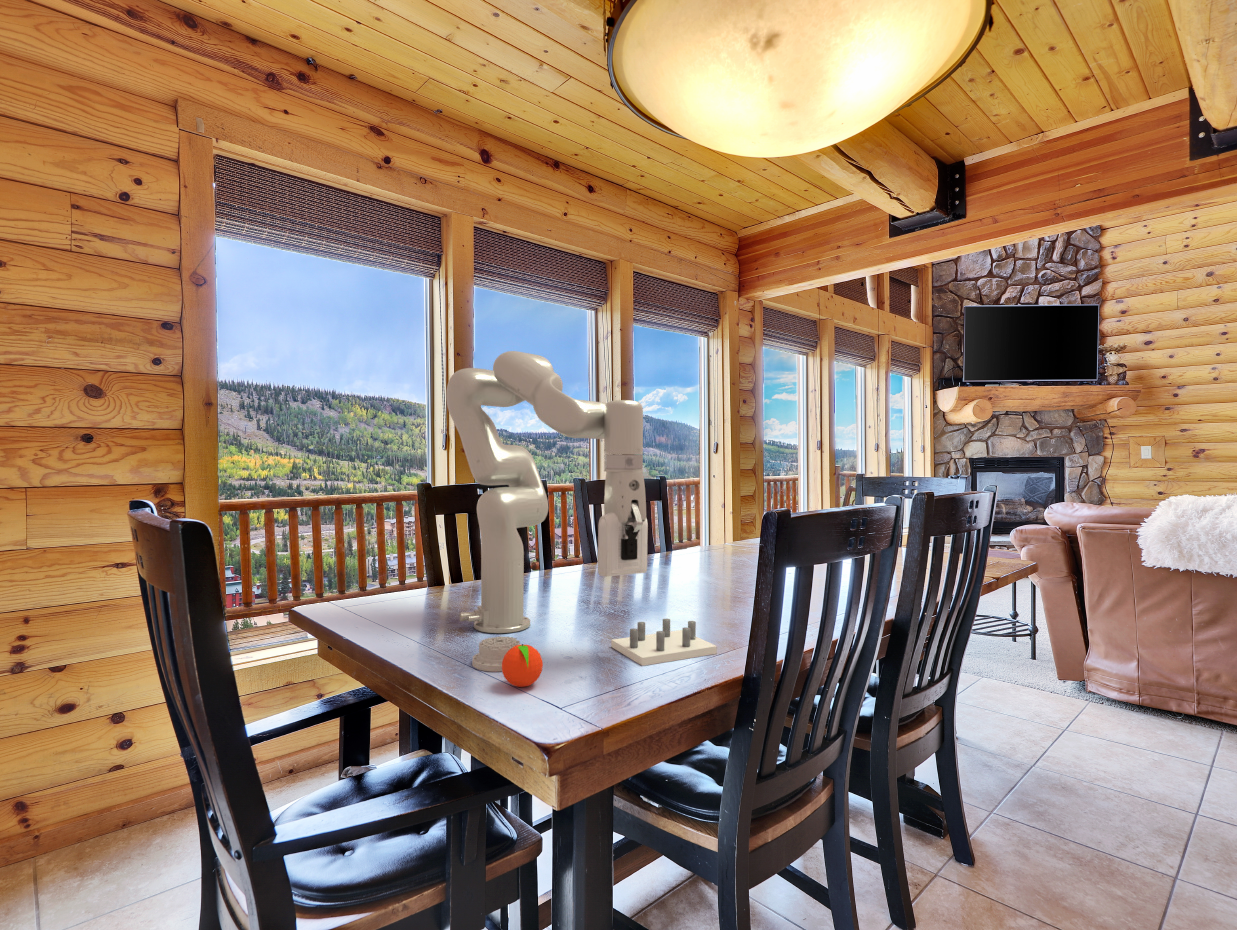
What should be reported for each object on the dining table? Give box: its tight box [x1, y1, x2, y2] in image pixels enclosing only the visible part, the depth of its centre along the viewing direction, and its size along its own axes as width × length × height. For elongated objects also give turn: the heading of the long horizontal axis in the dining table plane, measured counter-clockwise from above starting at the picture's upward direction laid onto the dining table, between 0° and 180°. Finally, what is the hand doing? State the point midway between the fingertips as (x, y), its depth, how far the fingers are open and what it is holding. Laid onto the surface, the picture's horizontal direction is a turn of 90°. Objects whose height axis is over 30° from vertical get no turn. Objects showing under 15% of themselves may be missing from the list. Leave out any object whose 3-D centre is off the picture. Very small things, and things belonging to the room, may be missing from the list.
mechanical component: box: [471, 635, 521, 673], centre depth 122 cm, size 10×4×10 cm
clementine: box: [501, 643, 544, 688], centre depth 110 cm, size 8×7×7 cm
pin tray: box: [610, 618, 718, 667], centre depth 130 cm, size 17×13×5 cm
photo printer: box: [597, 512, 649, 578], centre depth 126 cm, size 10×4×12 cm, turn 121°
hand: (623, 556), depth 126 cm, fingers closed on photo printer, 4 cm apart
